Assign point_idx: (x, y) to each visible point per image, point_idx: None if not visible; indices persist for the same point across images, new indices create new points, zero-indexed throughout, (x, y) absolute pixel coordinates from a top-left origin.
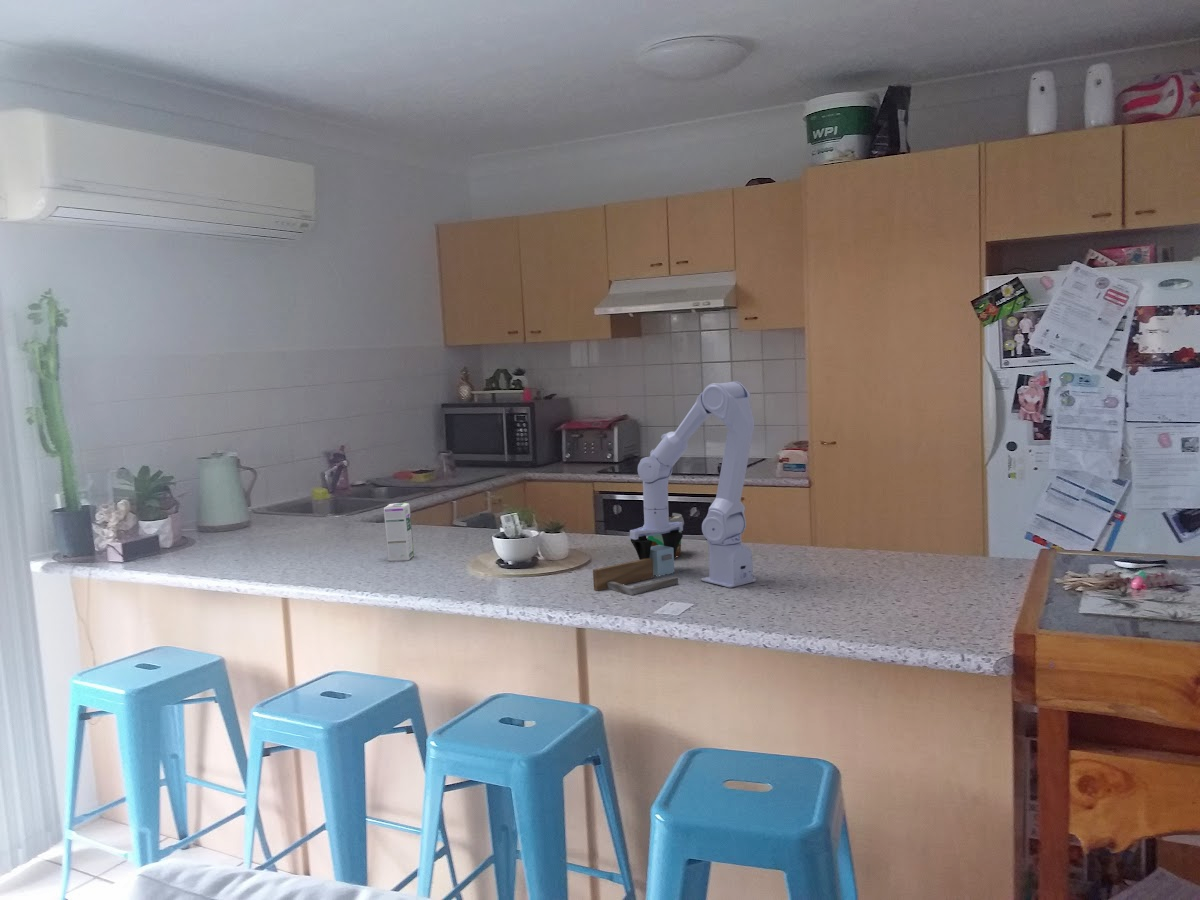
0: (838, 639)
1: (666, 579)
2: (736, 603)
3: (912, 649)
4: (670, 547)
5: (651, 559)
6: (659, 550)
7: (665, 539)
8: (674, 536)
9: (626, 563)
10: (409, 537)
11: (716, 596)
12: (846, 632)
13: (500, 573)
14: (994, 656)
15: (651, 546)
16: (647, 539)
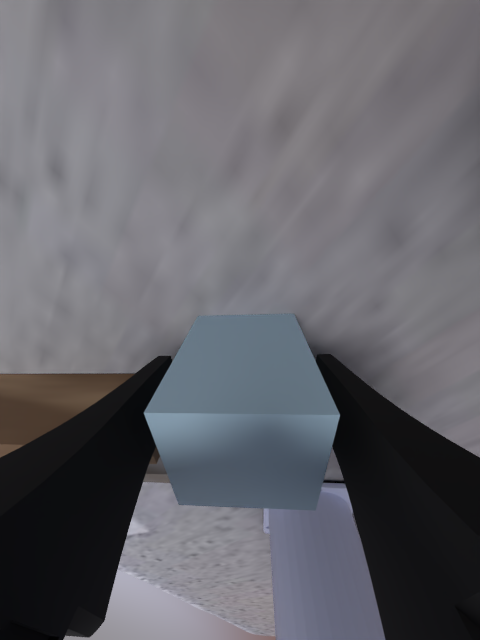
0: (203, 607)
1: (163, 477)
2: (206, 553)
3: (229, 622)
4: (308, 501)
5: (151, 459)
6: (201, 504)
7: (405, 501)
8: (392, 635)
9: (2, 455)
10: None
11: (207, 531)
12: (223, 607)
13: None
14: (257, 634)
15: (237, 416)
16: (67, 622)
